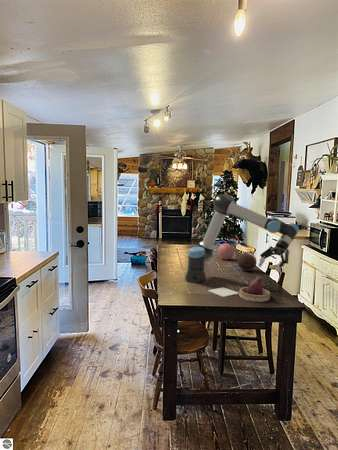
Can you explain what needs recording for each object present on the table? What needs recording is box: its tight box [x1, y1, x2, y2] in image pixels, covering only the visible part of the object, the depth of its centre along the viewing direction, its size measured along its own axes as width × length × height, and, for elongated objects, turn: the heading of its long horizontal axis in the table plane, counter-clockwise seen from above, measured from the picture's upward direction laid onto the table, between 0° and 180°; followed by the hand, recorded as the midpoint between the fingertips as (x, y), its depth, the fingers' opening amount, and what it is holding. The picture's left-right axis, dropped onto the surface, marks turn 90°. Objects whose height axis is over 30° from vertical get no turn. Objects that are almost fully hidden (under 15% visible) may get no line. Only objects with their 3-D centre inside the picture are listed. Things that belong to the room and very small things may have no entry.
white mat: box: [207, 286, 239, 298], centre depth 216 cm, size 14×14×1 cm
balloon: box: [217, 242, 239, 261], centre depth 319 cm, size 15×20×15 cm
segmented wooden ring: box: [238, 286, 271, 303], centre depth 209 cm, size 18×18×4 cm
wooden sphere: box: [237, 252, 257, 272], centre depth 277 cm, size 15×15×15 cm
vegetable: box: [246, 276, 263, 295], centre depth 208 cm, size 10×10×15 cm
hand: (267, 268), depth 214 cm, fingers open, 13 cm apart
